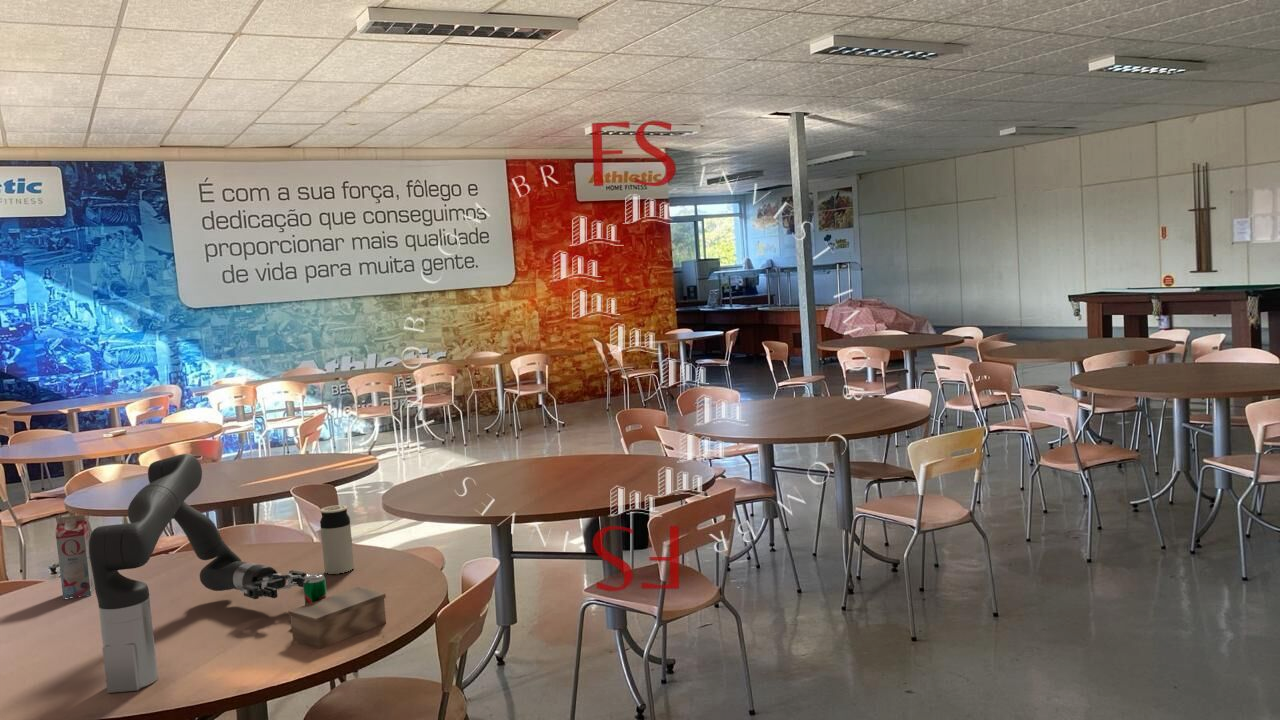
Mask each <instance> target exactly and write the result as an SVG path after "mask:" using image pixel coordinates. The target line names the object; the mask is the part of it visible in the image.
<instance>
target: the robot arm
mask: <svg viewBox="0 0 1280 720" xmlns="http://www.w3.org/2000/svg"><path fill="white" fill-rule="evenodd" d="M202 470H203V469H202V465H201V463H200V461H199V460H198V458H197V457H195V456H194V455H192V454H191V453H183V454H178V455H175V456H174V455H173V456H170V457H167V458H162V459H160V460H156V461H154V462H152V463H150V464H149V466H148V469H147V477H148V481H149V484H147V485H145V486H144V487H142V488H141V489H140V490H139V492H137V493H136V495H134V497H133V498H132V500H131V501H130V503H129V505H128V508H127V517H128V521H129V523H119V524H110V525H101V526H97V527H96V528H94V529H93V530H92V531H91V533H90V534H89V555H90V562H91V567H92V572H93V578H94V585H95V590H94V592H95V596H96V598H97V603H98V612H99V621H100V622H99V623H100V629H101V630H100V631H101V638H102V639H101V640H102V657H103V665H104V674H105V683H106V692H107V694H111V693H123V692H124V693H125V692H133V691H134V692H135V691H139V690H140V689H143V688H145V687H147V686H149V685H151V684H154V683H155V682H156V681H157V680H158V679H159V675H158V674H159V673H158V665H157V657H156V656H157V655H156V648H155V635H154V629H153V620H152V618H153V617H152V609H151V602H150V601H151V598H150V591H149V586H148V584H146V582H143V581H140V580H135V579H132V578H129V577H127V576H124V575H123V574H121V573H120V572H119V571H122V570H123V571H125V570H133V569H139V568H140V567H143V566H145V565H146V564H147V563H148V562H149V560H150V558H151V557H152V555H153V553H154V550H156V549H155V548H156V546H157V544H158V542H159V539H160V537H161V535H162V534H163V532H164V530H165V528H166V527H167V526H168V525H169V523H170V522H171V521H172V520H173V519H174V520H175V521H176V523H177V524H178V525H179V527H180V528H181V530H182V531H183V533H184V535H185V536H186V538H187V540H188V542H189V543H190V545H191V548H192V549H193V552H194V553H195V555H196V556H197V559H199V560H201V561H209V560H211V561H210V562H209V563H207V564H206V565H205V566H204V567H203V568H202V569H201V570H200V572H199V581H200V583H201V584H202V585H203V587H205V588H206V589H208V590H211V591H213V592H214V591H215V592H219V591H220V592H223V591H231V590H237V591H240V592H242V593H243V596H244V597H247V598H249V599H253V600H257V599H259V598H271V599H276V598H278V591H280V590H286V589H287V590H288V589H289V590H290V589H291V588H293V587H300V588H303V581H304V577H305V576H306V575H307V572H304V571H297V570H293V569H292V570H289V571H288V573H282V574H281V573H280V572H279V573H278V572H277V570H276V569H275V568H274V567H271V566H268V565H264V564H260V563H255V562H247V561H242V559H241V558H240V557H239V556H238V555H237V554H236V553H235V552H234V551H232V550H231V548H230V547H229V546H228V545H227V544H226V542H225V540H223V538H222V536H221V534H220V532H219V530H218V528H217V526H216V524H215V523H214V522H213V520H211V519H210V517H209V516H207V515H206V514H204V513H202V512H201V511H200V510H198V509H196V508H194V507H192V506H190V505H189V504H188V503H186V502H185V501H186V499H187V498H188V497H189V496H190V495H191V494H193V492H195V491H196V490H197V489H198V488H199V486H200V484H201V482H202V478H203V477H202V476H203V471H202ZM212 559H213V560H212Z"/></svg>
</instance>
